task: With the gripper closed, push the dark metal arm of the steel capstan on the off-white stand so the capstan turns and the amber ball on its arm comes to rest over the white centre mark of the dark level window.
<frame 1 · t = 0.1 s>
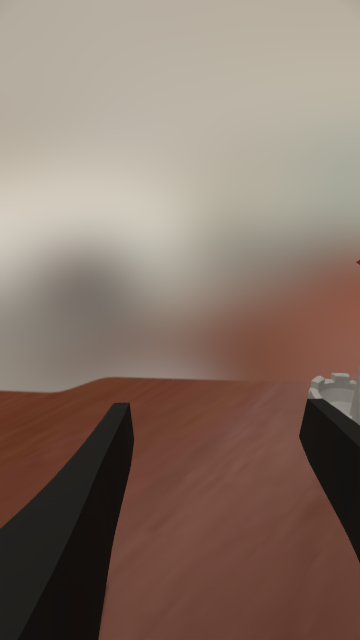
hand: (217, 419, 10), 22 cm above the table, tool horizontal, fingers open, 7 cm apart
flag stand: (352, 426, 39), on the table
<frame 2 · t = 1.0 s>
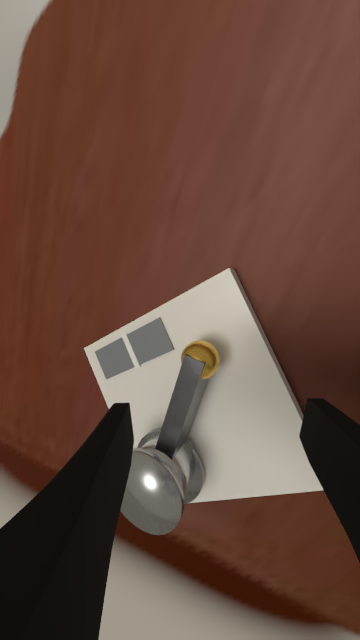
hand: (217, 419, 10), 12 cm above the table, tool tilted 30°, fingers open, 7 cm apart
capstan: (171, 436, 21), point 4 cm above the table, hinge at -45.0°
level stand: (190, 397, 24), on the table
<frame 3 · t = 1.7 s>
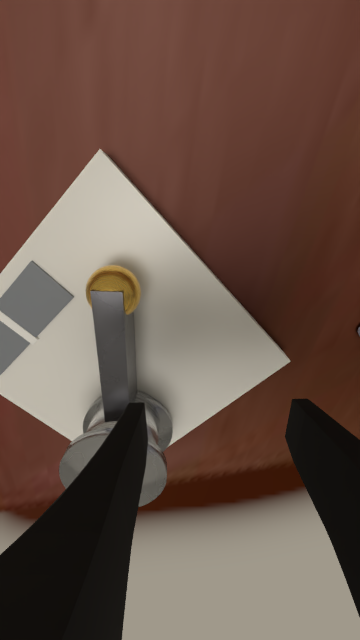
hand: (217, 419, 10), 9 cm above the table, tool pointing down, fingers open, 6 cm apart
capstan: (118, 399, 16), point 4 cm above the table, hinge at -45.0°
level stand: (120, 347, 20), on the table
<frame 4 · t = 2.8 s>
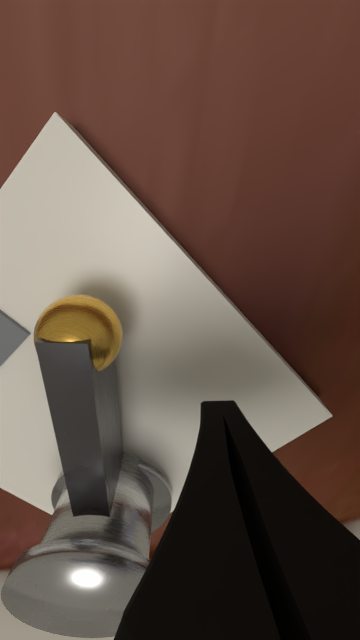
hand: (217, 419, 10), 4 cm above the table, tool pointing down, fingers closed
capstan: (93, 481, 11), point 4 cm above the table, hinge at -45.0°
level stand: (102, 392, 15), on the table
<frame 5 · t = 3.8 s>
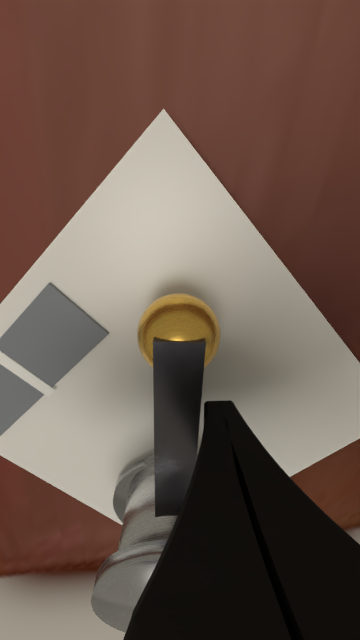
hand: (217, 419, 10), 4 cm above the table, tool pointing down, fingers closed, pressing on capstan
capstan: (174, 482, 11), point 4 cm above the table, hinge at -45.0°, touching gripper
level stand: (163, 392, 15), on the table
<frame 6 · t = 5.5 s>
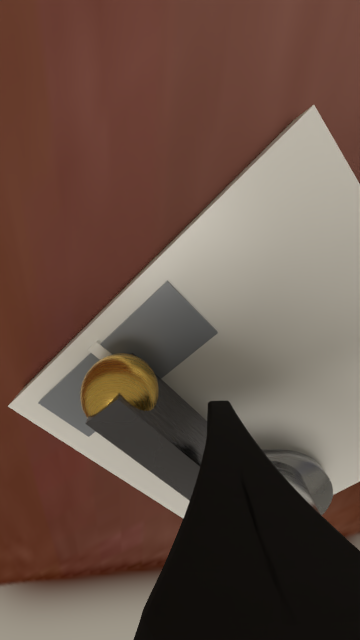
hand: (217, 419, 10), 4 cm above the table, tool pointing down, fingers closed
capstan: (227, 495, 11), point 4 cm above the table, hinge at -2.4°, touching gripper
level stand: (247, 391, 15), on the table
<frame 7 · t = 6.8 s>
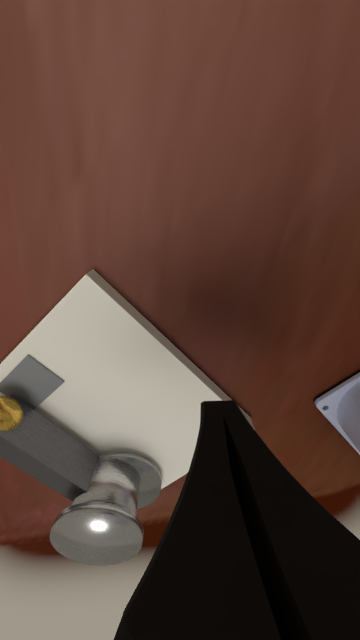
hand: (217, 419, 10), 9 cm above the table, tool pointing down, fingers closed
capstan: (70, 479, 19), point 4 cm above the table, hinge at -2.3°
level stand: (106, 413, 22), on the table
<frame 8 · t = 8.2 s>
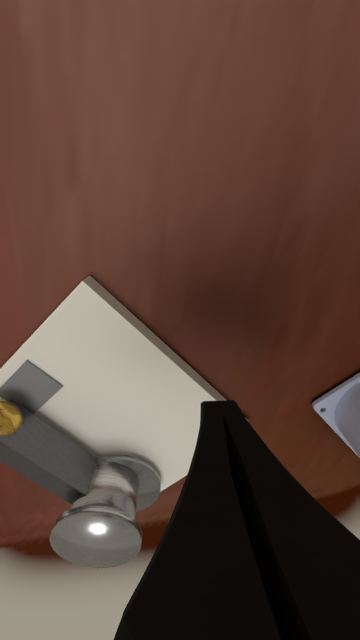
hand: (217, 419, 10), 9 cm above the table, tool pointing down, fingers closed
capstan: (69, 482, 19), point 4 cm above the table, hinge at -2.3°
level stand: (105, 416, 22), on the table
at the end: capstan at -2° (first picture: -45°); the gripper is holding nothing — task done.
